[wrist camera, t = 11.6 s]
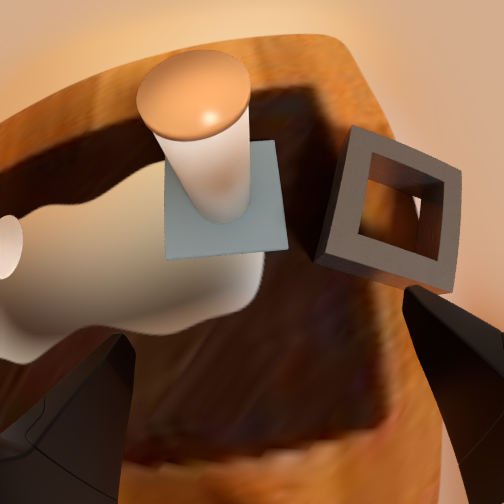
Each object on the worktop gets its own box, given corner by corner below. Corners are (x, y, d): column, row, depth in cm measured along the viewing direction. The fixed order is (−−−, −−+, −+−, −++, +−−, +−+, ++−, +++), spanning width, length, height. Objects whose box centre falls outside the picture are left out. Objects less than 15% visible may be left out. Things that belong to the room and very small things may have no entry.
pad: (287, 249, 23) (288, 247, 22) (167, 260, 23) (165, 258, 22) (273, 143, 24) (274, 140, 24) (167, 155, 24) (165, 151, 24)
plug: (240, 232, 22) (224, 144, 10) (183, 214, 23) (116, 121, 10) (260, 178, 23) (265, 59, 11) (205, 162, 23) (168, 45, 11)
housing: (425, 296, 22) (452, 292, 18) (313, 262, 22) (325, 252, 18) (438, 188, 24) (461, 171, 20) (339, 150, 24) (352, 124, 20)
